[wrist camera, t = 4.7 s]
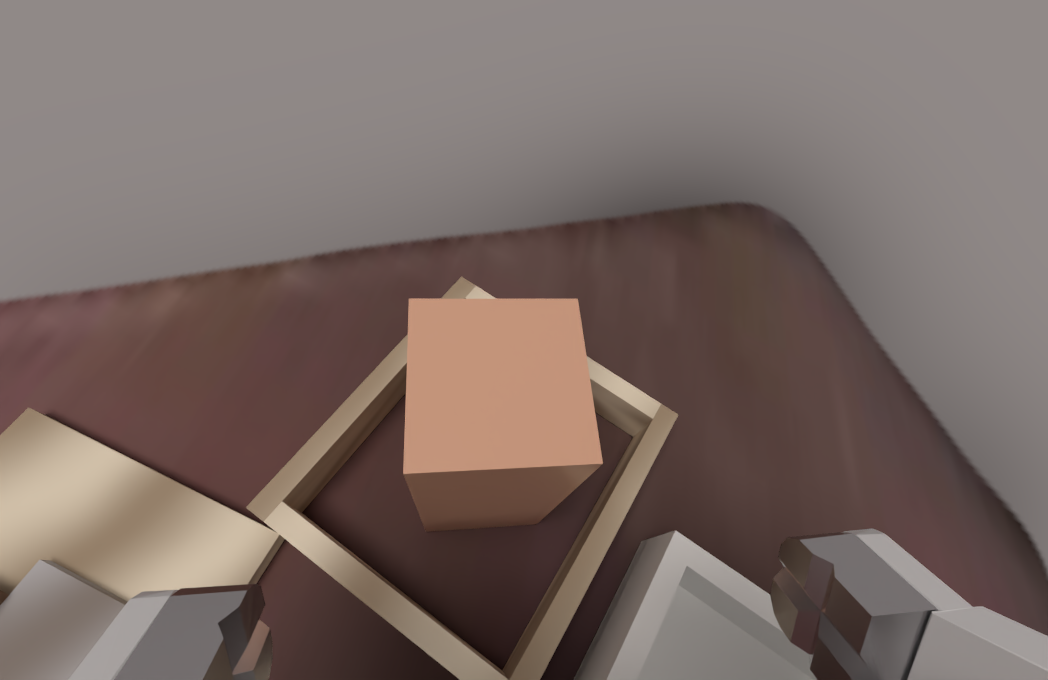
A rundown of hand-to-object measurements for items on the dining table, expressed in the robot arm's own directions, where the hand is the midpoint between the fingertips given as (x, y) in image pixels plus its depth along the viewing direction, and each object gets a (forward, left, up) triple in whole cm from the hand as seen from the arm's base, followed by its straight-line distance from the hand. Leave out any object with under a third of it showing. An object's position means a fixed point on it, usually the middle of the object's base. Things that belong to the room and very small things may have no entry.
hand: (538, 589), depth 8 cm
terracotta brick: (+3, -4, -12) cm, 13 cm away
